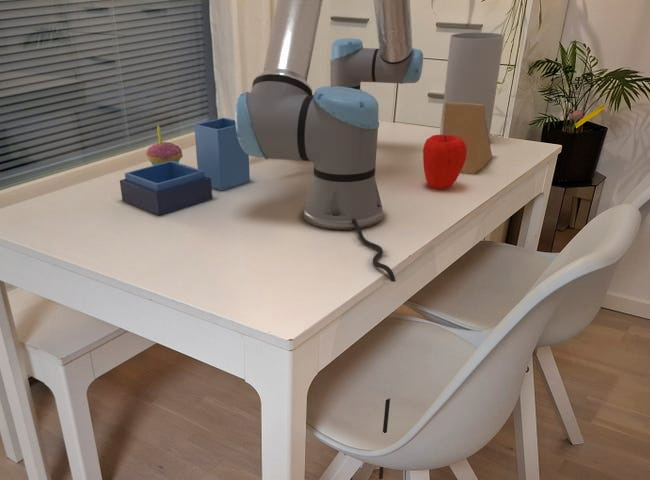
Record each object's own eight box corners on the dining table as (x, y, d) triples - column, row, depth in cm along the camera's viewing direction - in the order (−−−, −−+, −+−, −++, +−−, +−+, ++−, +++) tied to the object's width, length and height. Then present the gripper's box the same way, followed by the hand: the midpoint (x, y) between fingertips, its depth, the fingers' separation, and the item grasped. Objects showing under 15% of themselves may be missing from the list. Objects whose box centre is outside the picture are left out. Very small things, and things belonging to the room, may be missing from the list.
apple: (467, 183, 147) (474, 133, 141) (453, 195, 141) (459, 142, 135) (428, 178, 151) (433, 128, 145) (413, 189, 145) (418, 137, 139)
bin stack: (174, 185, 152) (172, 159, 149) (212, 198, 144) (210, 170, 141) (122, 200, 145) (118, 173, 141) (159, 215, 136) (155, 186, 133)
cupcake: (177, 179, 156) (172, 126, 150) (143, 178, 158) (136, 125, 152) (188, 168, 164) (183, 117, 157) (154, 167, 165) (149, 116, 159)
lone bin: (227, 174, 158) (223, 117, 151) (249, 181, 153) (247, 122, 146) (198, 183, 153) (194, 124, 146) (221, 190, 148) (217, 130, 141)
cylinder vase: (491, 147, 171) (508, 38, 157) (440, 146, 173) (453, 39, 159) (485, 134, 181) (500, 32, 168) (437, 134, 183) (448, 32, 170)
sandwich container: (493, 157, 163) (504, 91, 155) (475, 174, 152) (484, 104, 144) (458, 153, 167) (466, 89, 159) (438, 169, 156) (445, 101, 148)
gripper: (356, 138, 159) (293, 157, 148) (282, 122, 175) (220, 138, 163) (358, 105, 155) (293, 122, 144) (282, 91, 171) (218, 106, 159)
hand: (254, 131), depth 154 cm, fingers open, 13 cm apart
